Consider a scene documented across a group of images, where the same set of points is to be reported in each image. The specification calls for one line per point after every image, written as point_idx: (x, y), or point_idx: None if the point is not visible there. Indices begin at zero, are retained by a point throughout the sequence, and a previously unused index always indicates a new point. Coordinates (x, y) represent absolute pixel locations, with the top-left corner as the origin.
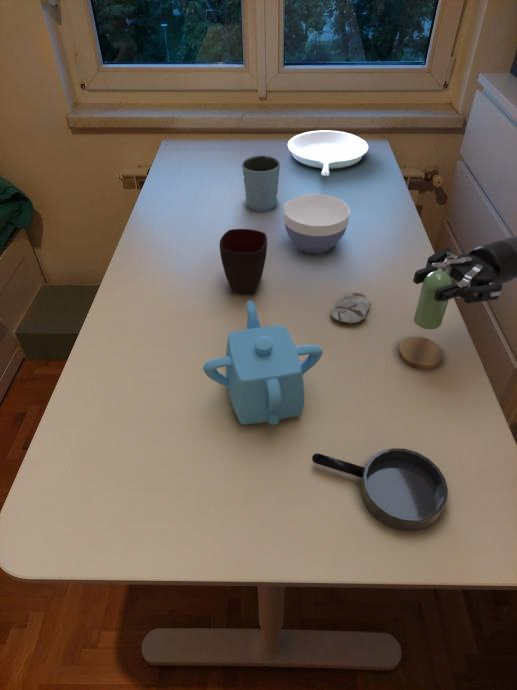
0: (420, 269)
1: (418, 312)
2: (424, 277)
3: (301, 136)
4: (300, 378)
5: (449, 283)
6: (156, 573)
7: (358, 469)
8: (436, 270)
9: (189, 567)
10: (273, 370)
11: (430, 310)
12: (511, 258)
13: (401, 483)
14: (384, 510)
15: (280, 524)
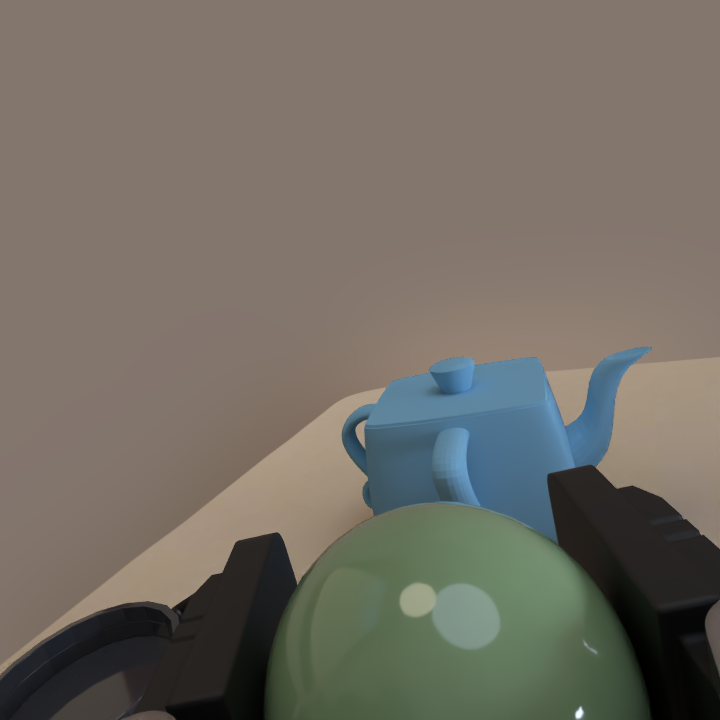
0: (683, 520)
1: None
2: None
3: None
4: (365, 443)
5: (272, 657)
6: (273, 453)
7: (183, 601)
8: (716, 711)
9: (257, 469)
10: (392, 401)
11: None
12: None
13: (103, 712)
14: (87, 617)
15: (229, 533)
